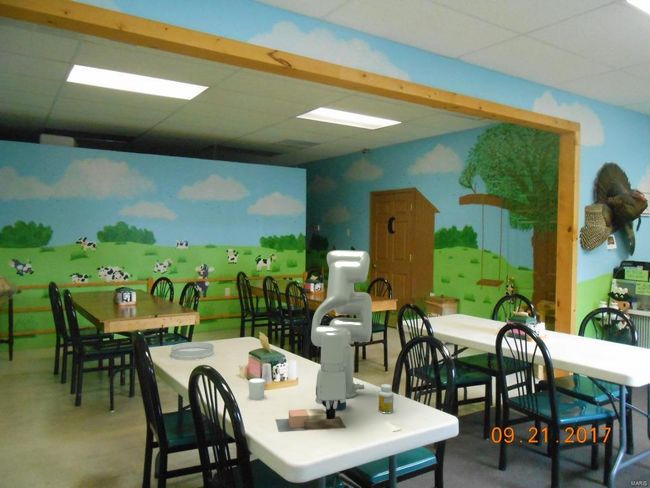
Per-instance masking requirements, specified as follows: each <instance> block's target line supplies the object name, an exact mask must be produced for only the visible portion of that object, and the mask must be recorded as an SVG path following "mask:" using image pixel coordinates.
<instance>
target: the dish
mask: <svg viewBox="0 0 650 488" xmlns="http://www.w3.org/2000/svg"><path fill="white" fill-rule="evenodd" d="M170 352H171V353H170V357H171V358H172V359H173V358H174V360H177V361H197V360H196V359H202V360H205V359H204V358H207V357H210V356H212V355H213V354H215V351H214V344H212V343H210V342H203V341H202V342H201V341H191V342H190V341H189V342H181V343H177V344H173V345H172V346H171V351H170ZM213 356H214V355H213ZM213 356H212V357H213ZM210 358H211V357H210ZM207 359H208V358H207Z"/></svg>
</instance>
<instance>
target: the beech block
mask: <svg viewBox="0 0 650 488" xmlns="http://www.w3.org/2000/svg"><path fill="white" fill-rule="evenodd" d="M305 409H306V411H307V413H308V415H309V420H322V419H326V413H325V411H326V410H324V408H305Z"/></svg>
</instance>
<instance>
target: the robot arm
mask: <svg viewBox="0 0 650 488" xmlns="http://www.w3.org/2000/svg"><path fill="white" fill-rule="evenodd" d="M370 260H371V259H370V255H369V253H368V252H367V251H364V250H346V249H345V250H344V249H343V250H342V249H336V250H335V249H334V250H331V251H329V252H328V253H327V255H326V262H327V265H328V269H329V270H328V280H327V290H326V291H327V292H326V298H325V299H324V301H323V302H322V303H321V304H320V305H319V306H318V308H316V310H315V311H314V315H313V318H312V322H311V323H312V324H311V332H310V333H311V334H310V339H311V343H312V344H313V345H314V346H316V347H320V369H318V370H317V376H316V382H315V396H316V397H315V400H314V401H315V404H318V405H323V406H324V407H325V411H326V417H327V418H328V419H334V417H335V416H336V410H335V409H336V408H337V406H338V405H339V404H340V403H343V402H346V403H347V399H349V398H354V397H356V396H357V392H358V390H365V384H360V383H355V382H354V366H355V364H354V362H355V361H354V360H355V357H354V356H355V355H354V354H355V352H354V349H353V347H352V346H351V345H350V344H351V342H352V343H353V342H354V343H366V342H367V343H368V342H369V341H370V340H371V338H372V333H373V332H372V331H373V327H372V325H373V323H372V322H373V320H372V319H373V302H372V301H373V300H372V297H371V295H370V294H369V293H368V292H363V291H355V284H363V283H365V282H366V280H367V278H368V275H369V269H370V262H371V261H370ZM333 310H334V312H335V314H338V315H343V316H344V315H345V316H346V315H347V316H359V317H360V318H355V317H354V318H352V317H335V318H333V319H332V320H331V321H330V322H329V325H321V322H322V319H323V317H324V316H325V315H326V314H328V313H329V312H331V311H333ZM330 400H332V405H331V407H330V404H329V401H330Z"/></svg>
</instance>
